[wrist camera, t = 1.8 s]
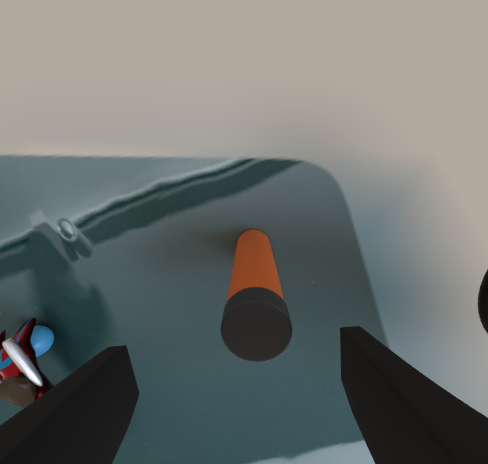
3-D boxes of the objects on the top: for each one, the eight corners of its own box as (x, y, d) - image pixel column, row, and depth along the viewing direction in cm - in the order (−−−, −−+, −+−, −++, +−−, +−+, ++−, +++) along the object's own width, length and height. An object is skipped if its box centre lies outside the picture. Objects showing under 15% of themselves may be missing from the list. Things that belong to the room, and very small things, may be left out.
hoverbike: (94, 438, 22) (41, 530, 16) (5, 325, 19) (-94, 390, 13) (146, 420, 21) (109, 509, 16) (61, 300, 18) (-19, 358, 13)
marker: (269, 227, 16) (290, 297, 8) (272, 260, 17) (294, 360, 8) (234, 230, 17) (215, 303, 8) (238, 263, 17) (225, 365, 8)
